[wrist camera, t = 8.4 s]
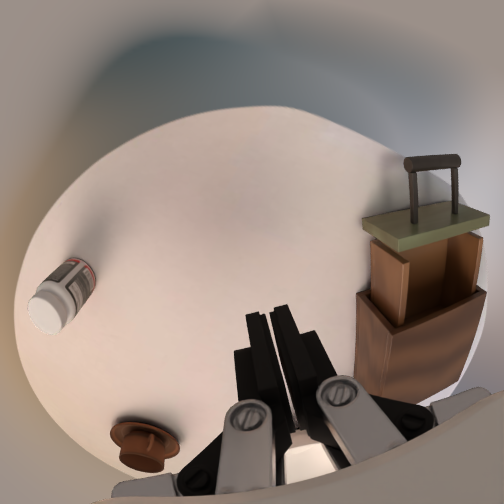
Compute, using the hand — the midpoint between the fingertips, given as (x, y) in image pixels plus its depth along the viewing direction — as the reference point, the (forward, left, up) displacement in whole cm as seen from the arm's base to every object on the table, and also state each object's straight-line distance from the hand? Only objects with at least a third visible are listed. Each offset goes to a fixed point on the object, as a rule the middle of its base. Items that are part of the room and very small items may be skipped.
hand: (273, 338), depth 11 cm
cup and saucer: (+39, -5, -17) cm, 42 cm away
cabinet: (+7, +25, -17) cm, 31 cm away
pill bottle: (+11, -16, -17) cm, 25 cm away
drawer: (-5, +19, -16) cm, 25 cm away
